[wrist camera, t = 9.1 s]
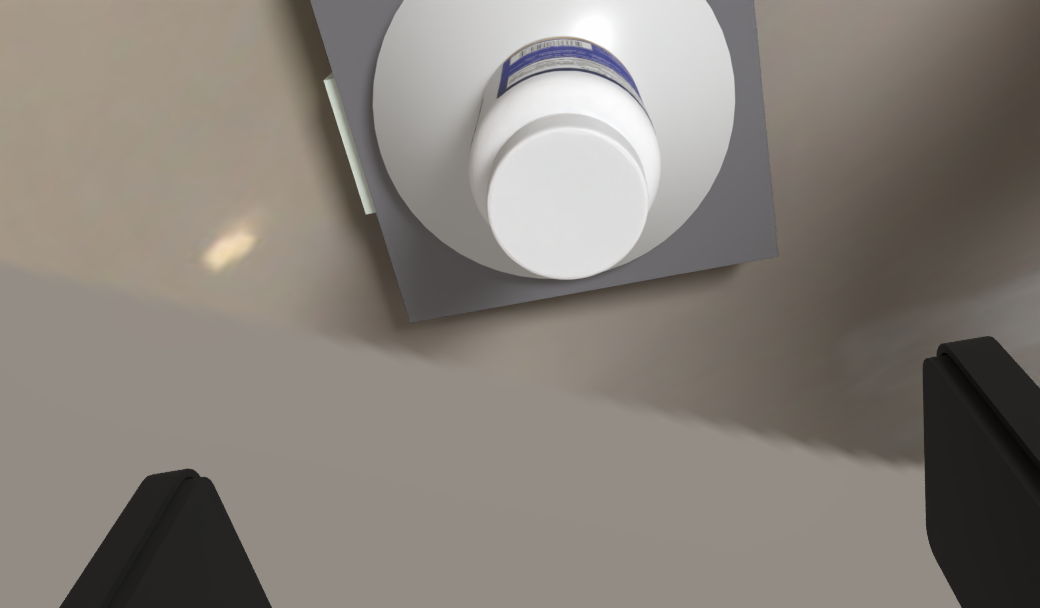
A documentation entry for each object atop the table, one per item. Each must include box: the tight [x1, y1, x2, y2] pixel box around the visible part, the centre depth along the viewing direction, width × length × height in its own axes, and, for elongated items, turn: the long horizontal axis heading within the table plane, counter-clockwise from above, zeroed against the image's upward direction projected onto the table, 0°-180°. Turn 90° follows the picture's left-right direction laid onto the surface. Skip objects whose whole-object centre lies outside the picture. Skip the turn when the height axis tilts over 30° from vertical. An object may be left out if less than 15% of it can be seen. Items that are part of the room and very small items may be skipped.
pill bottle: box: [469, 36, 661, 280], centre depth 25 cm, size 5×5×9 cm
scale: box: [310, 0, 778, 323], centre depth 31 cm, size 14×14×3 cm
